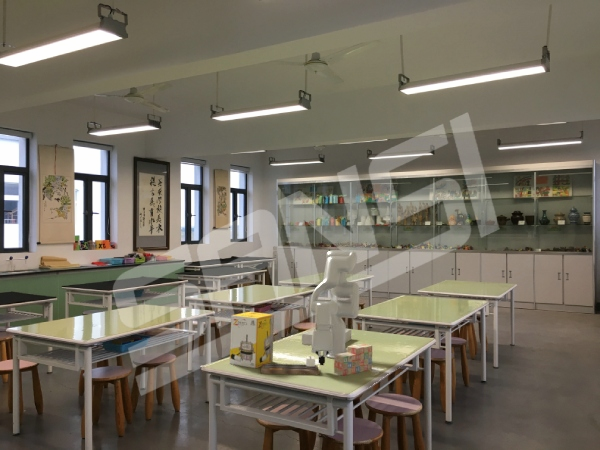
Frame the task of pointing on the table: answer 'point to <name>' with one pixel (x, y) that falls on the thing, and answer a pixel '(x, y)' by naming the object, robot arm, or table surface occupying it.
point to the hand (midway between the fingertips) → (321, 364)
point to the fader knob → (310, 361)
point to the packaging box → (251, 339)
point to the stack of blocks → (354, 360)
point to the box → (308, 335)
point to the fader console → (289, 369)
